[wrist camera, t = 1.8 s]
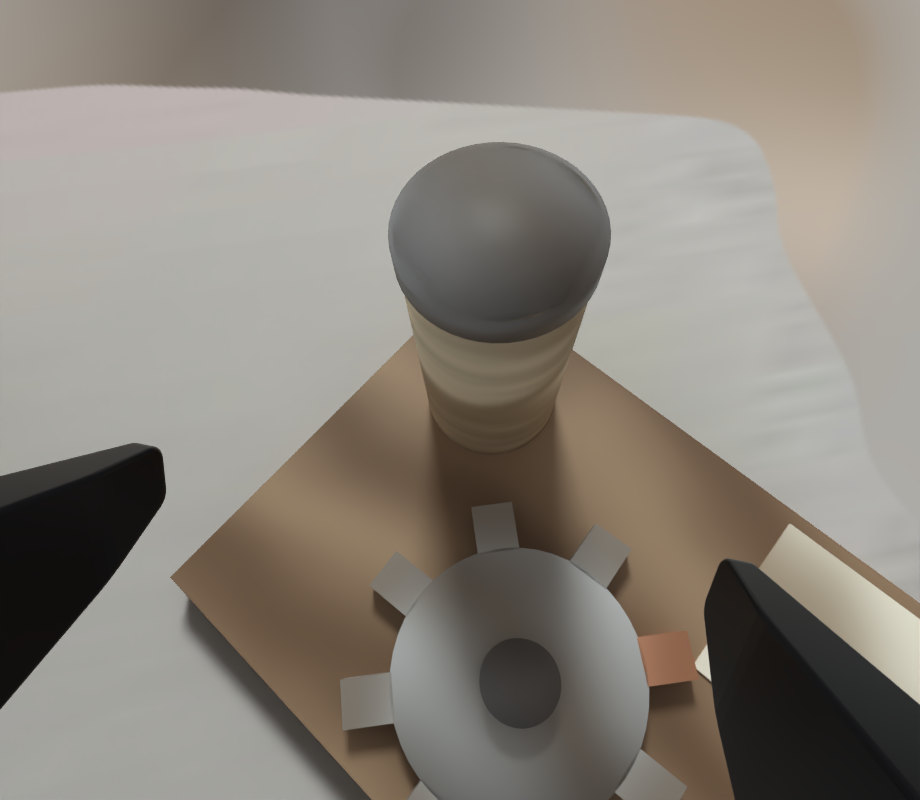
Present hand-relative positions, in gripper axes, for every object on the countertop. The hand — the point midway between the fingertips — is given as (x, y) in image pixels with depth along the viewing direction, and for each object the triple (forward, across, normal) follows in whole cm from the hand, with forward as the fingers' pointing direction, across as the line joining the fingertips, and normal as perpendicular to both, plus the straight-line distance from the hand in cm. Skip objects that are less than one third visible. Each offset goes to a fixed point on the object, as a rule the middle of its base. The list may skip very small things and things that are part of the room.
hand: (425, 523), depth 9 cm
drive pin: (+13, 0, +3) cm, 14 cm away
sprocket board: (+9, -4, +10) cm, 14 cm away
